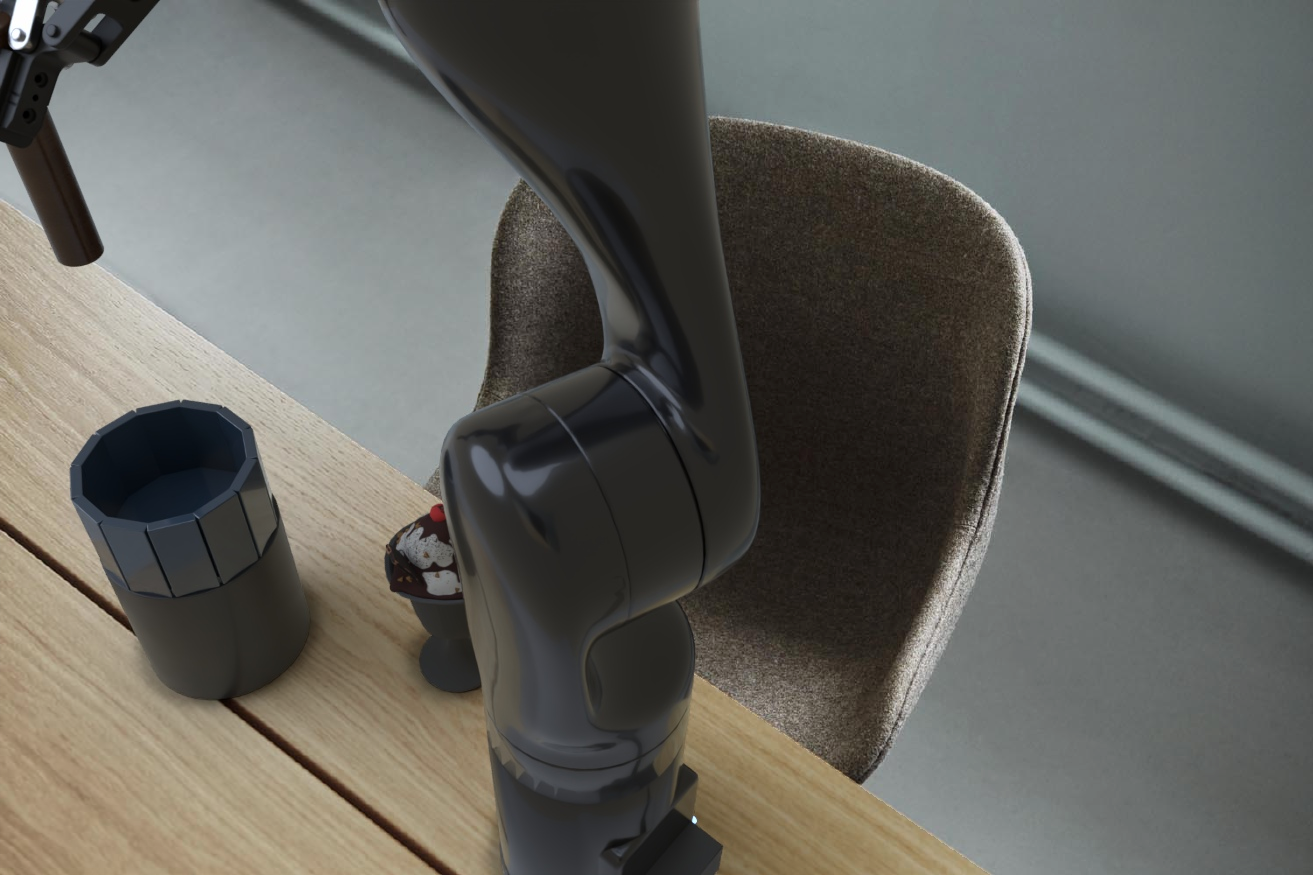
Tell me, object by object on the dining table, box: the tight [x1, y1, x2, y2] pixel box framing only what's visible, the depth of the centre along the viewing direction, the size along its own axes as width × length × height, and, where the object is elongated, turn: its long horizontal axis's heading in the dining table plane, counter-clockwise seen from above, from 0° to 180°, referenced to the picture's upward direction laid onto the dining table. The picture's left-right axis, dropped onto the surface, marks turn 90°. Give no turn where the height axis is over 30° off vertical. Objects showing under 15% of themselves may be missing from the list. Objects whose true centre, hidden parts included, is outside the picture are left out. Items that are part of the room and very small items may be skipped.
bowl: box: [68, 399, 278, 598], centre depth 62 cm, size 9×9×6 cm
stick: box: [0, 10, 105, 268], centre depth 52 cm, size 2×2×12 cm
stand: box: [99, 492, 311, 701], centre depth 67 cm, size 10×10×10 cm
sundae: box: [383, 503, 482, 693], centre depth 65 cm, size 7×7×15 cm
